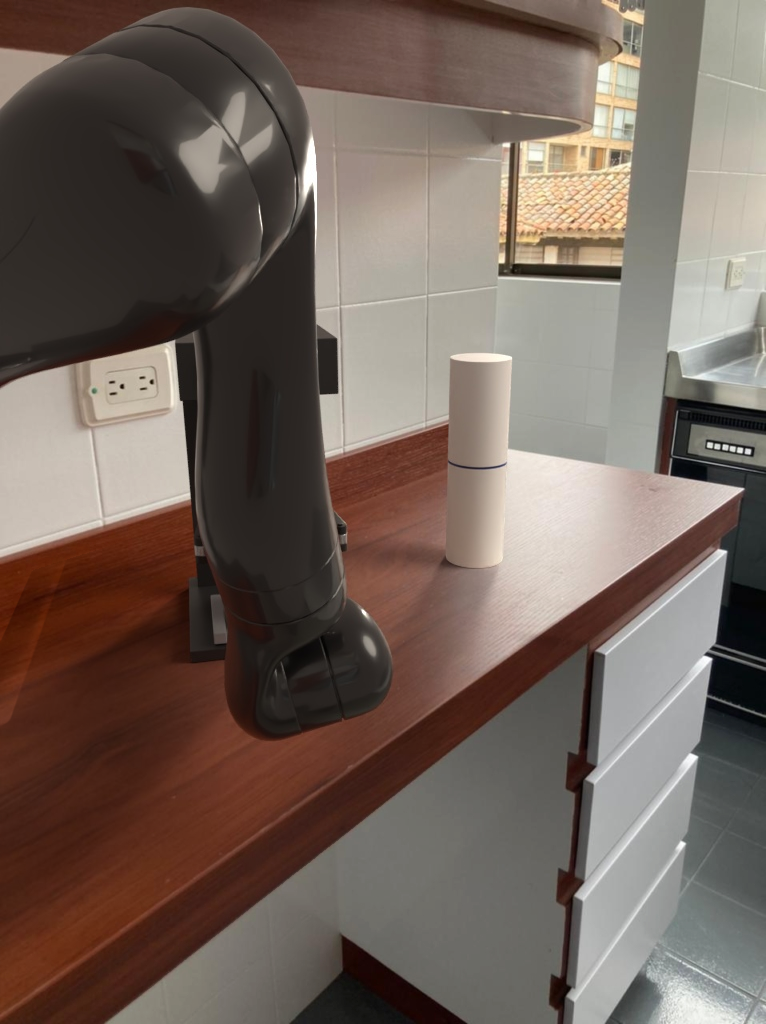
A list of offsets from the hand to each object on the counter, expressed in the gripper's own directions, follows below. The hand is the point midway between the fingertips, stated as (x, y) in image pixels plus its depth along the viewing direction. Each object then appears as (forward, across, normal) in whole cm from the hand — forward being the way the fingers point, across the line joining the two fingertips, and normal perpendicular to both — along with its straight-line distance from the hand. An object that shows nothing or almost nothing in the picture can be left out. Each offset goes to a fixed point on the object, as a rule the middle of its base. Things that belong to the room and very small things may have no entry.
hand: (262, 509), depth 82 cm
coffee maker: (+2, 0, +12) cm, 13 cm away
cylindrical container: (+12, -27, +13) cm, 32 cm away
